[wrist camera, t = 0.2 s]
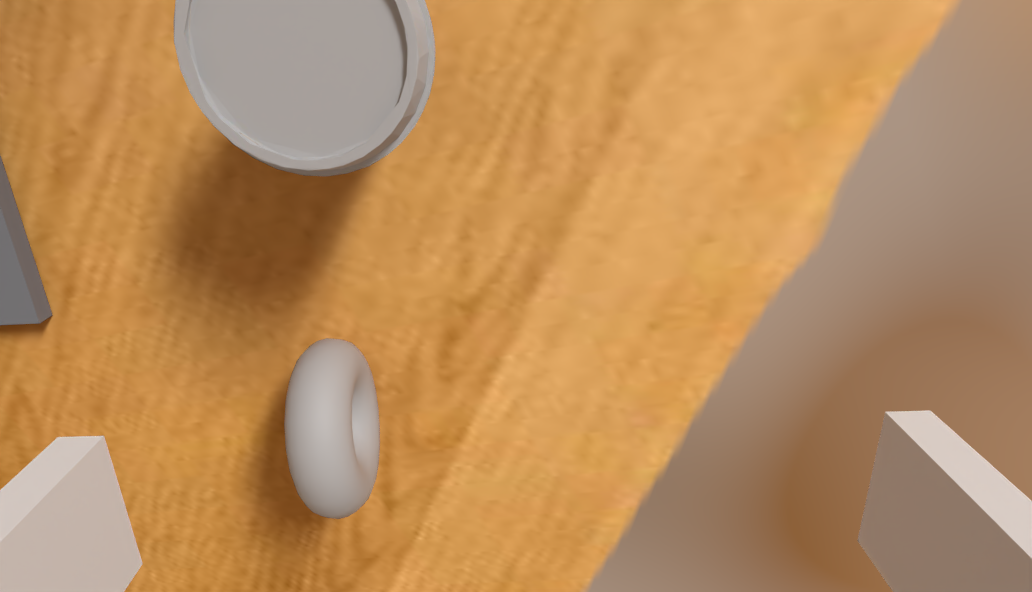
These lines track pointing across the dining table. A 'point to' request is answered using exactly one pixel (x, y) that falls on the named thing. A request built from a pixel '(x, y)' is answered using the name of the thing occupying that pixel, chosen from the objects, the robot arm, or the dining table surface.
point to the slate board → (17, 266)
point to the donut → (332, 428)
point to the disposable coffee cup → (308, 76)
